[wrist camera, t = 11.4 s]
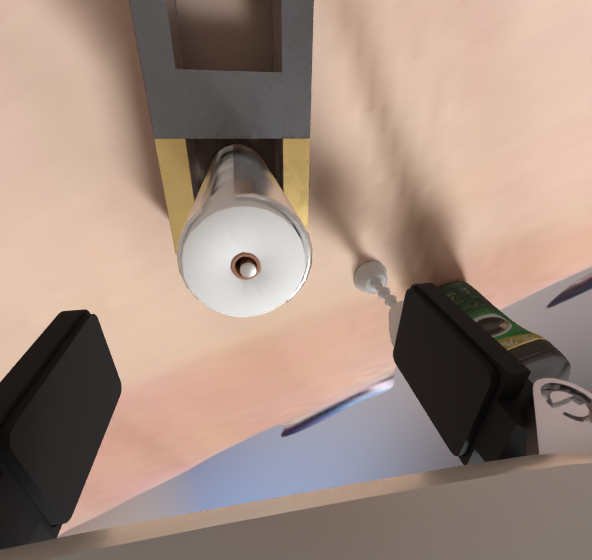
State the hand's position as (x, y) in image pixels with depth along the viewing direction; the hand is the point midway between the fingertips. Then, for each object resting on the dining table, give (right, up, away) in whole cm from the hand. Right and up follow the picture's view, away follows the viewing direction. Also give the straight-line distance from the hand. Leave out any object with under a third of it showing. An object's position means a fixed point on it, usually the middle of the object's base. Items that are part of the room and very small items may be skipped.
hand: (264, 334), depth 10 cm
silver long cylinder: (-6, +14, +26) cm, 30 cm away
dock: (-6, +20, +23) cm, 31 cm away
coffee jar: (+25, -2, +41) cm, 48 cm away
